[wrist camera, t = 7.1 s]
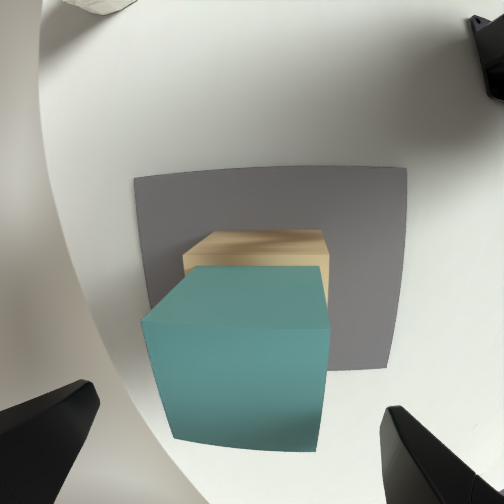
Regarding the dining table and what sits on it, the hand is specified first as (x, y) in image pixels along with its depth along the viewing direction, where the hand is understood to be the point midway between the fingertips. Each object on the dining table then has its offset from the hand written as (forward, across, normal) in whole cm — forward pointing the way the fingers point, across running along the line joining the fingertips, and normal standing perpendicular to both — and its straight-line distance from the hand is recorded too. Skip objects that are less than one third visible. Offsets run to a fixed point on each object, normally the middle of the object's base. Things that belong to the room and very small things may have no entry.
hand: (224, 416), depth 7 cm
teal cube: (+6, 0, 0) cm, 6 cm away
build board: (+11, 0, 0) cm, 11 cm away
